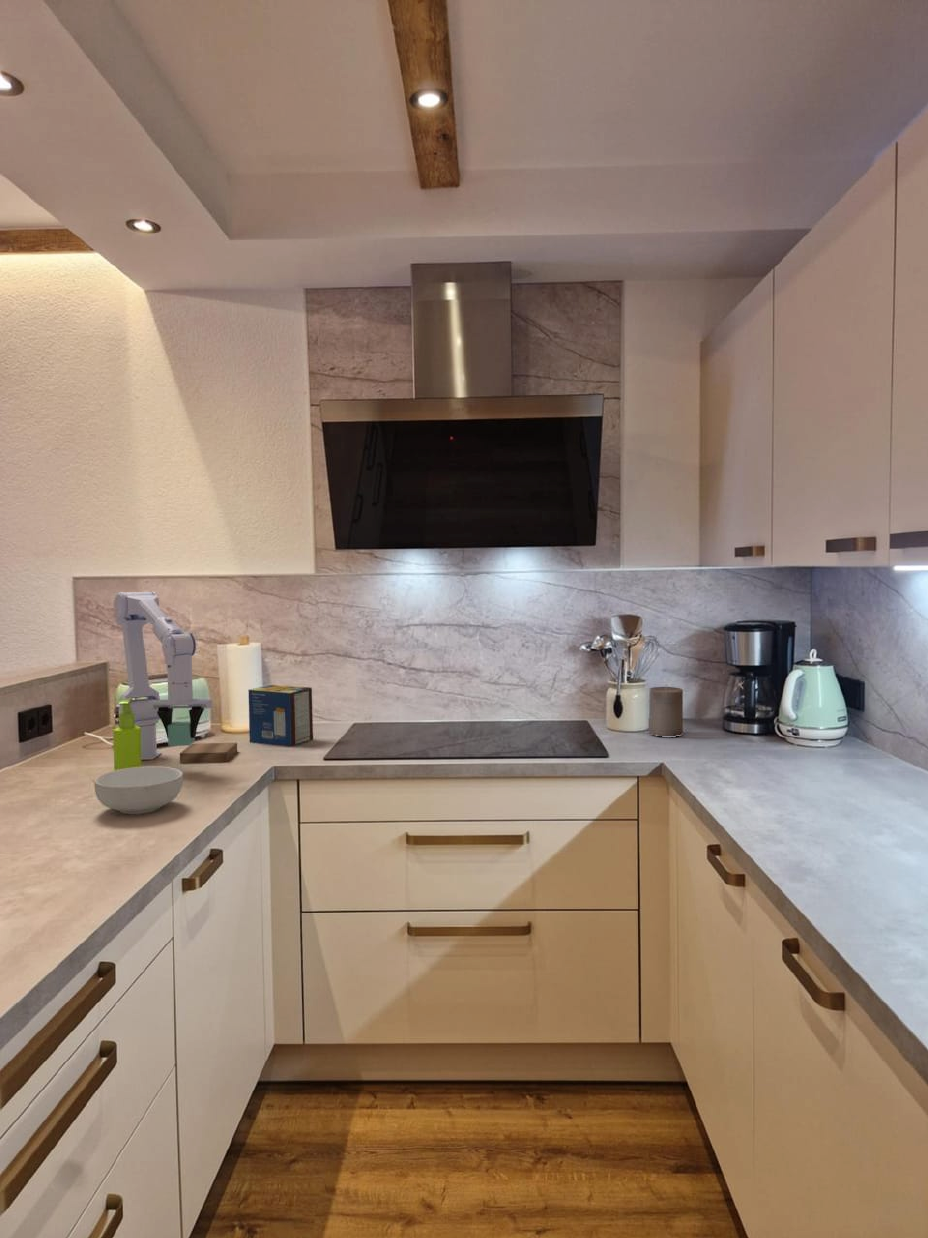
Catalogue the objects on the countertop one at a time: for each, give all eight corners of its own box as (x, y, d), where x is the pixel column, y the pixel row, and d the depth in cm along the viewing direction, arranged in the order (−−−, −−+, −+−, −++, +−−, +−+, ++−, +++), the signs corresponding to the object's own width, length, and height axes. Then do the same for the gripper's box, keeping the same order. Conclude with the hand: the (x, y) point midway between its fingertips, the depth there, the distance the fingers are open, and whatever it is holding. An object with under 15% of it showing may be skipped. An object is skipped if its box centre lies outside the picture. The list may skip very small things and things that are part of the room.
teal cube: (168, 745, 195) (167, 725, 195) (174, 741, 200) (173, 721, 200) (189, 745, 195) (188, 725, 195) (194, 741, 200) (194, 721, 200)
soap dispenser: (112, 789, 181) (109, 701, 180) (116, 782, 188) (114, 697, 187) (140, 787, 183) (137, 700, 182) (143, 780, 189) (141, 696, 188)
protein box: (272, 735, 241) (270, 684, 240) (313, 740, 234) (312, 687, 234) (248, 742, 232) (247, 689, 231) (291, 747, 225) (290, 692, 224)
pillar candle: (676, 731, 243) (676, 682, 242) (687, 737, 233) (687, 686, 232) (644, 732, 242) (644, 682, 241) (654, 738, 233) (654, 687, 232)
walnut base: (180, 765, 207) (179, 753, 207) (192, 754, 219) (192, 743, 218) (227, 763, 207) (227, 752, 207) (237, 753, 219) (237, 742, 219)
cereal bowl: (88, 825, 156) (87, 789, 155) (101, 801, 172) (100, 769, 171) (181, 816, 160) (180, 782, 160) (185, 795, 176) (184, 763, 176)
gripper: (144, 685, 192) (146, 741, 193) (206, 684, 193) (207, 740, 194) (153, 681, 199) (155, 735, 200) (213, 680, 200) (214, 734, 201)
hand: (181, 737), depth 197 cm, fingers closed on teal cube, 5 cm apart
